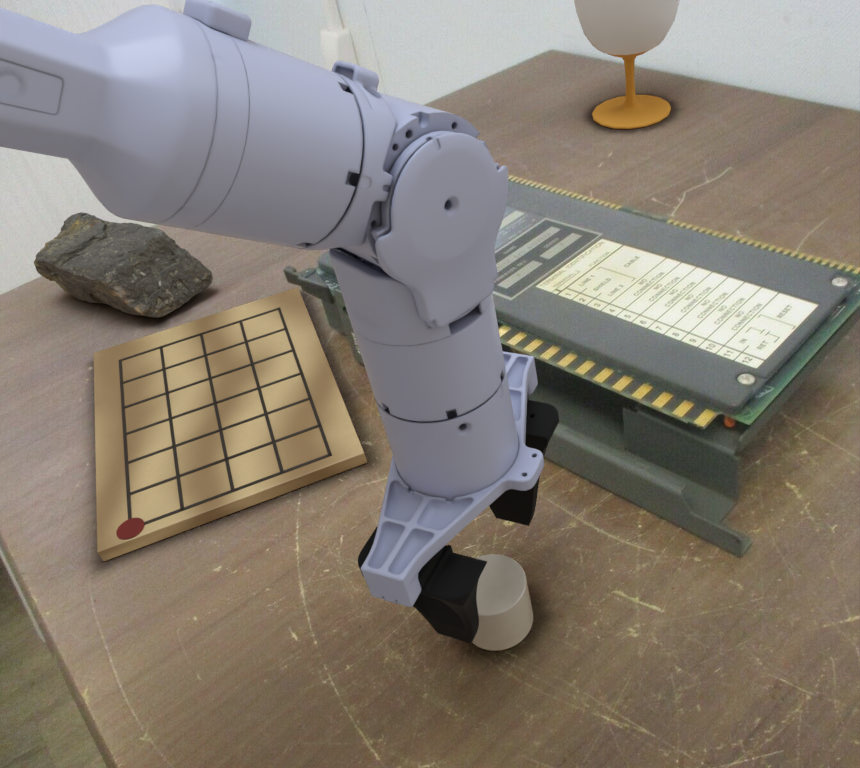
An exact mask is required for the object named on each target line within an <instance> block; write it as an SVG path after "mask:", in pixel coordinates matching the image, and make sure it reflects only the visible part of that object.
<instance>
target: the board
mask: <svg viewBox="0 0 860 768" xmlns="http://www.w3.org/2000/svg"><path fill="white" fill-rule="evenodd" d="M311 318H312V317H311V316H310V313H309V311H308V308H307V306H306V303H305V301H304V298H303V295H302V293H301V291H300V288H299V287H298V286H297V287H294V288H293V287H292V288H290V289H288V290H284V291H282V292H281V291H280V292H278V293H275V294H272V295H269V296H266V297H263V298H260V299H257V300H254V301H251V302H250V301H249V302H247V303H244V304H240V305H238V306H235V307H231V308H228V309H226V310H223V311H219V312H216V313H214V314H213V313H212V314H210V315H207V316H204V317H201V318H198V319H194V320H192V321H188V322H185V323H183V324H179V325H177V326H173V327H170V328H167V329H164V330H161V331H157V332H154V333H152V334H148V335H145V336H142V337H139V338H136V339H133V340H130V341H127V342H124V343H121V344H117V345H114V346H111V347H107V348H105V349H102V350H99V351H95V352H93V392H94V393H93V395H94V396H93V397H94V398H93V399H94V400H93V401H94V403H93V404H94V405H93V406H94V452H95V454H94V455H95V456H94V457H95V458H94V459H95V503H96V505H95V508H96V513H95V514H96V551H97V552H96V553H97V554H98V556H99V558H100V559H101V560H102V562H106V561H109V560H111V559H114V558H118V557H120V556H123V555H125V554H128V553H130V552H133V551H135V550H139V549H141V548H144V547H147V546H150V545H152V544H154V543H157V542H160V541H163V540H165V539H168V538H170V537H171V538H172V537H173V536H176V535H178V534H181V533H183V532H186V531H189V530H191V529H194V528H197V527H200V526H202V525H205V524H207V523H211V522H213V521H216V520H219V519H221V518H224V517H227V516H229V515H231V514H235V513H237V512H239V511H242V510H245V509H248V508H250V507H253V506H255V505H258V504H261V503H263V502H266V501H269V500H272V499H274V498H277V497H279V496H282V495H285V494H287V493H290V492H293V491H295V490H298V489H301V488H304V487H307V486H309V485H311V484H314V483H317V482H320V481H322V480H325V479H327V478H330V477H333V476H335V475H338V474H341V473H343V472H346V471H348V470H351V469H354V468H357V467H359V466H361V465H364V464H367V463H368V460H367V457H366V453H365V451H364V449H363V446H362V444H361V441H360V439H359V436H358V434H357V431H356V428H355V427H354V424H353V421H352V418H351V416H350V414H349V411H348V408H347V406H346V403H345V401H344V399H343V396H342V394H341V391H340V389H339V386H338V383H337V380H336V378H335V376H334V374H333V371H332V369H331V368H332V367H331V366H330V363H329V361H328V359H327V356H326V354H325V351H324V348H323V346H322V344H321V341H320V338H319V335H318V334H317V331H316V328H315V326H314V323H313V320H312V319H311Z"/></svg>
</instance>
